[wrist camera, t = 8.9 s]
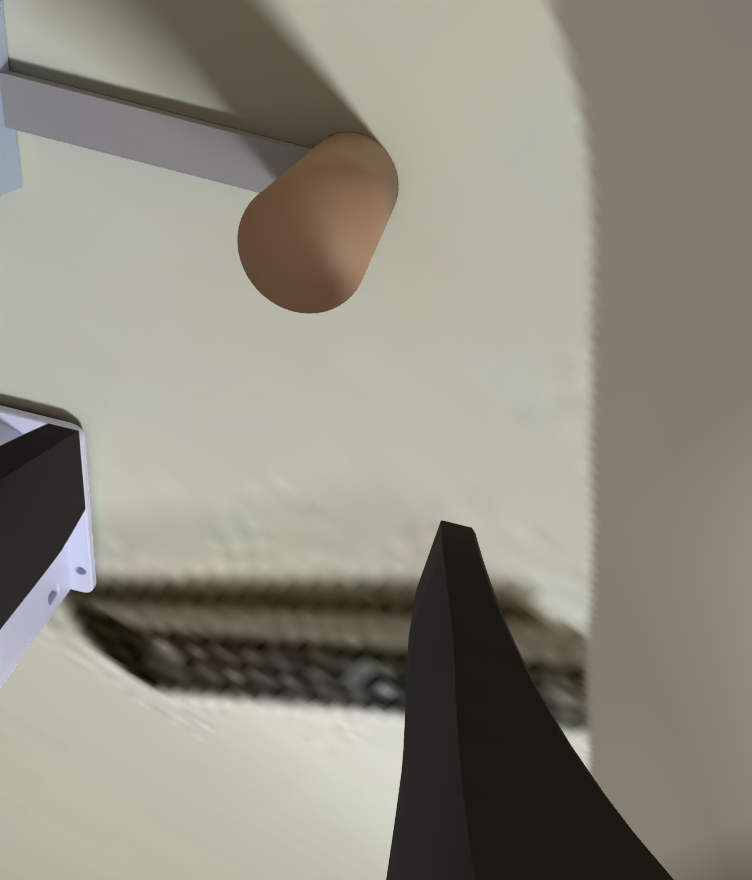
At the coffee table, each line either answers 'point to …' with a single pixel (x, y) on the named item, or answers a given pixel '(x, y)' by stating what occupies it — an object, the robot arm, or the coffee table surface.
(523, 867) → the robot arm
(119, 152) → the block with pull
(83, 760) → the coffee table surface
